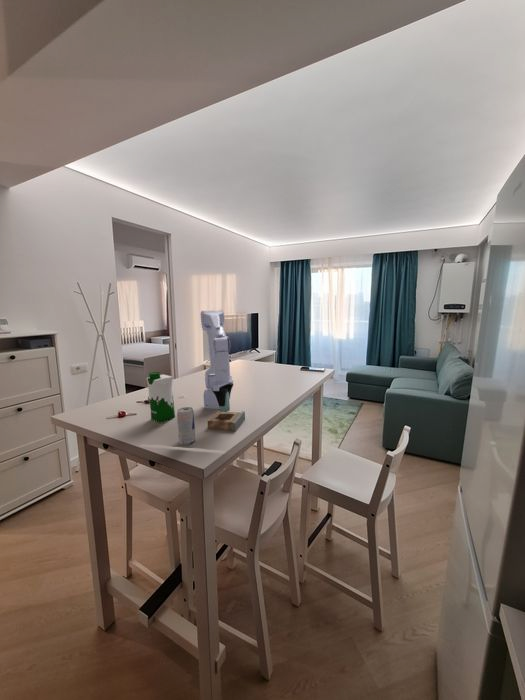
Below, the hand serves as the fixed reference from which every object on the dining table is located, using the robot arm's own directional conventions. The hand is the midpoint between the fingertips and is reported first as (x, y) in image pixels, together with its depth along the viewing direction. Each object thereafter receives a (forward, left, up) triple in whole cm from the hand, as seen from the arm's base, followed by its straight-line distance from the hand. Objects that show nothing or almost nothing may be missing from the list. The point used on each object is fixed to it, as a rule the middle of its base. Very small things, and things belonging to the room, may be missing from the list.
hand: (224, 404), depth 115 cm
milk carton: (-29, +3, -9) cm, 30 cm away
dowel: (0, 0, -2) cm, 2 cm away
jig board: (-4, 0, -9) cm, 10 cm away
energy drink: (-8, -16, -9) cm, 20 cm away
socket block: (0, 0, -8) cm, 8 cm away
